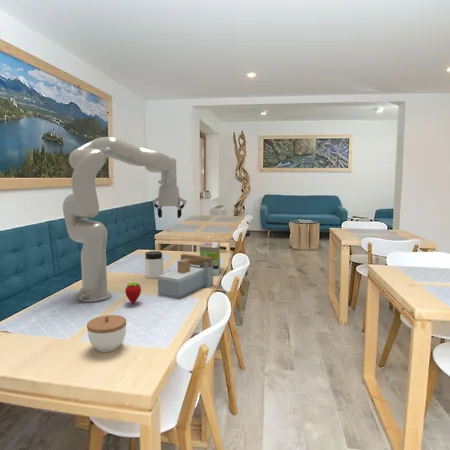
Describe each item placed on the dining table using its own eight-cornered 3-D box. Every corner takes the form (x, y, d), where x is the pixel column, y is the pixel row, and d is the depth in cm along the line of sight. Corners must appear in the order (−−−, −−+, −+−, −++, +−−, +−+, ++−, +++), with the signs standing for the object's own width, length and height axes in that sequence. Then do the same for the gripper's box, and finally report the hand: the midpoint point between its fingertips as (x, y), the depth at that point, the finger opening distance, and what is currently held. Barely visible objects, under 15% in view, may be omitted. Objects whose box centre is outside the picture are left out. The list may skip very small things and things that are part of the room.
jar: (166, 276, 178) (165, 253, 177) (151, 279, 173) (150, 255, 172) (157, 273, 185) (156, 250, 184) (142, 275, 180) (142, 252, 179)
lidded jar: (130, 338, 109) (129, 309, 108) (121, 356, 99) (120, 323, 97) (95, 339, 109) (93, 309, 108) (82, 356, 98) (80, 324, 97)
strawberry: (143, 300, 144) (142, 276, 142) (139, 307, 136) (138, 281, 135) (128, 300, 143) (127, 276, 142) (123, 307, 136) (122, 281, 135)
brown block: (210, 267, 160) (210, 258, 159) (180, 263, 168) (180, 254, 167) (212, 266, 162) (212, 257, 161) (183, 262, 170) (183, 253, 169)
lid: (178, 282, 144) (178, 267, 144) (158, 278, 149) (158, 264, 149) (207, 270, 163) (207, 256, 163) (188, 267, 168) (188, 254, 168)
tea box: (219, 275, 180) (219, 246, 179) (199, 275, 181) (199, 246, 179) (220, 268, 195) (220, 241, 193) (201, 268, 196) (201, 241, 194)
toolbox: (183, 300, 144) (183, 272, 143) (154, 294, 151) (153, 267, 150) (213, 285, 164) (212, 260, 163) (185, 280, 171) (185, 257, 170)
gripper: (149, 183, 174) (150, 218, 176) (184, 183, 171) (184, 218, 174) (154, 182, 181) (155, 216, 183) (187, 182, 179) (188, 217, 181)
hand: (169, 217), depth 178 cm, fingers open, 9 cm apart
